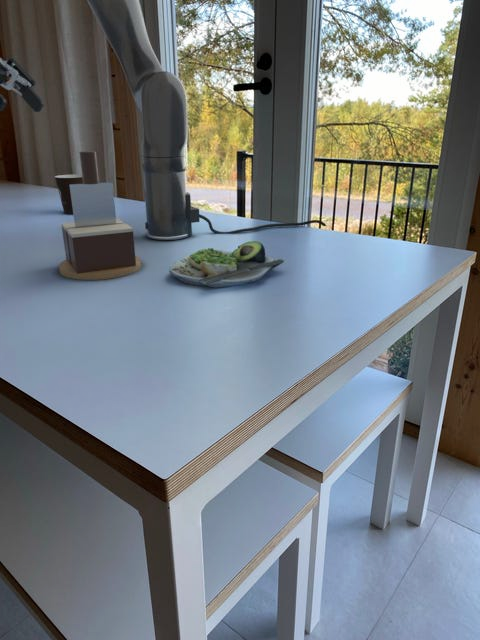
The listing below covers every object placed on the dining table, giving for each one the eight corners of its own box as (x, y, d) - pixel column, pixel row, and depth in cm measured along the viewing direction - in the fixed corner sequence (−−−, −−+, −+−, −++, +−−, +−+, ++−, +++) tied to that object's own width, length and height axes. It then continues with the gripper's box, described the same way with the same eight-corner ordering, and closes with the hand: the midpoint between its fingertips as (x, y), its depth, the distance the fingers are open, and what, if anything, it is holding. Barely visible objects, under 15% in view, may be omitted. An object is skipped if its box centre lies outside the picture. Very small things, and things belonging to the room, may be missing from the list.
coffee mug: (86, 215, 131) (81, 177, 127) (55, 215, 131) (49, 177, 127) (98, 208, 142) (94, 173, 138) (69, 208, 142) (65, 173, 138)
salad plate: (252, 300, 69) (252, 270, 68) (147, 286, 75) (144, 258, 74) (289, 266, 86) (290, 241, 84) (200, 256, 92) (199, 232, 90)
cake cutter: (114, 222, 84) (107, 150, 80) (118, 224, 82) (111, 151, 78) (73, 225, 81) (63, 151, 77) (76, 228, 79) (66, 152, 75)
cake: (128, 254, 94) (124, 215, 91) (151, 272, 82) (148, 229, 79) (53, 263, 87) (47, 222, 84) (67, 284, 76) (60, 238, 73)
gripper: (-79, 0, 69) (-1, 86, 70) (-4, 19, 81) (62, 92, 82) (-96, 44, 73) (-22, 125, 74) (-21, 55, 85) (41, 124, 86)
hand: (22, 107), depth 78 cm, fingers open, 8 cm apart
